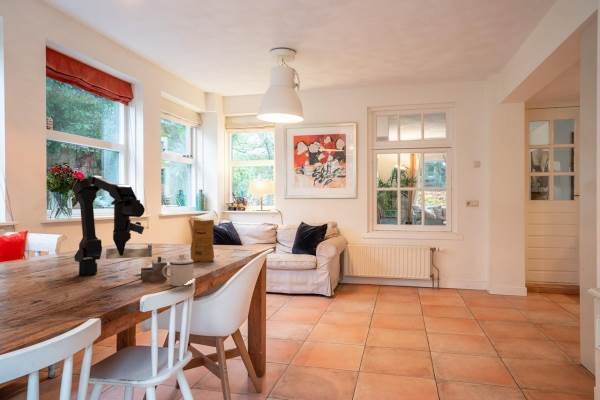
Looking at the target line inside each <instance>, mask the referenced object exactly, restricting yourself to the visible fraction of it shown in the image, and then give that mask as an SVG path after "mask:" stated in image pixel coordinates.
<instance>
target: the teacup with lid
mask: <svg viewBox="0 0 600 400" xmlns="http://www.w3.org/2000/svg"><path fill="white" fill-rule="evenodd" d="M169 261H170V265H166V266H164V267H163V274H164V276H165V277H167V279H169V285H170V286H173V287H183V286H182V285H184V284H186V283H187V282H188V281H190V280H192V279H193V280H194V263H195V262H193V260H192V259H191V258H189V257H188V256H185V254H184V253H180V254H178V256H177V257H176V258H174V259H170V260H169ZM166 267H169V271H170V272H169V275H168V273H167V274H166V273H165V268H166Z"/></svg>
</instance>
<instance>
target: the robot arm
mask: <svg viewBox="0 0 600 400" xmlns="http://www.w3.org/2000/svg"><path fill="white" fill-rule="evenodd" d="M100 190H103V191H105V192H107V193H108V195H109V196H110V197H111V198H112V199H113V201H111V203H110V205H111V206H112V205H113V230H112V240H113V242H114V244H115V248H117V250H118V252H119V255H120V256H123V253H124V249H125V248H126V245H127V244H126V243H127V242H129V241H130V239H132V238H131V237H132V236H131V235H132V233H131V232H135V233H137V234H140V235H143V232H144V230H145V226H144V225H142V222H140V221H136V222H131V219H130V218H131V217H132V218H141V217H142V216H143V215H144V214H145V210H146V209H145V206H144V204H142V203H141V200H140V199H138V197H137V196H136V194H135V192H134V189H133V187H132V186H131V185H129V184H119V183H116V182H114V181H111V180H109V179H107V178H104V177H103V176H102V175H93V174H91V175H89V176H88V177H87V178H83V180H80V181H78V182H77V183H76V184H75V185H74V186H73V193H74V198H75V200H76V201H77V202H78V204H79V207H80V209H79V210H80V219H81V233H82V238H81V240H80V242H79V243H78V250H77V251H76V253H75V254H74V256H73V257H74V261H75V262H78V263H79V264H78V277H83V276H84V277H85V276H96V275H97V273H98V262H97V260H101V257H102V253H103V245H102V239H100V238H98V237H97V236H96V235H97V234H96V224H95V212H94V203H95V200H96V198H97V193H99V191H100Z"/></svg>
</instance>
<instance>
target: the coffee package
mask: <svg viewBox="0 0 600 400" xmlns="http://www.w3.org/2000/svg"><path fill="white" fill-rule="evenodd" d="M214 224H215V221H214V219H209V220H208V219H206V220H201V219H193V224H192V225H193V226H192V242H191V244H190V259H192V260H193V262H194V263H195V262H196V263H197V262H201V263H205V262H206V263H207V262H209V263H210V262H213V261H214V259H215V252H214Z"/></svg>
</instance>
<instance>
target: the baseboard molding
mask: <svg viewBox="0 0 600 400" xmlns="http://www.w3.org/2000/svg"><path fill="white" fill-rule="evenodd" d="M164 259H165V261H166V262H167V265H170V261H171V260H167V259H166V258H161V260H164ZM147 267H152V263H151V264H150V263H149V265H148V266H146V267H144V268H147ZM167 269H170V267H167ZM133 276H134V277H135V276H139V277H141V270H139V271H137V272H136V273H134V274H133Z"/></svg>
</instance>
